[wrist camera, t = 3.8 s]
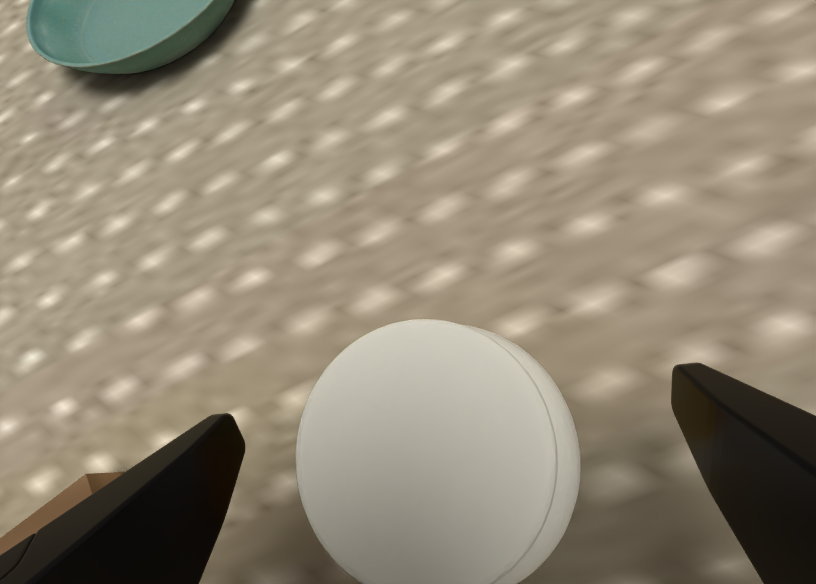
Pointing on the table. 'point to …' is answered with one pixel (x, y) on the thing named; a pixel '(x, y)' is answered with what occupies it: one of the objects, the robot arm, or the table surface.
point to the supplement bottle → (437, 457)
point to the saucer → (120, 31)
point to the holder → (57, 507)
